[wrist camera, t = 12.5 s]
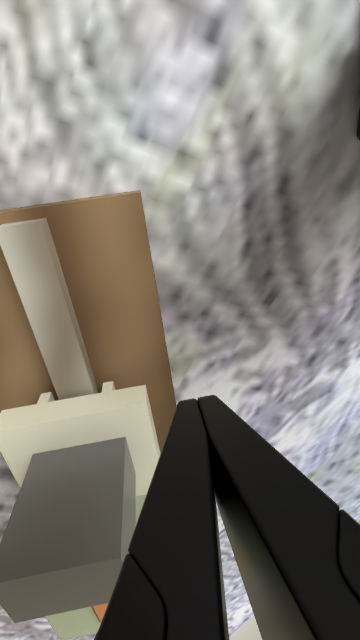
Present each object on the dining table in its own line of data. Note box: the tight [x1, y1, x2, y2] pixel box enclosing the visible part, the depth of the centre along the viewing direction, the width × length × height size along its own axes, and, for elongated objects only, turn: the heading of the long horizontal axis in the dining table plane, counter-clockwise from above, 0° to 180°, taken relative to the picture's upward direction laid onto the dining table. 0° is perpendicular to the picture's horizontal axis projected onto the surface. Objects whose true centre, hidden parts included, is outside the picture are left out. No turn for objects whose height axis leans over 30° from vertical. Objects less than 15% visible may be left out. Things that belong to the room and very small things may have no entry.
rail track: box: [0, 190, 176, 454], centre depth 21 cm, size 11×26×2 cm, turn 8°
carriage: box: [0, 381, 160, 623], centre depth 16 cm, size 8×7×8 cm
